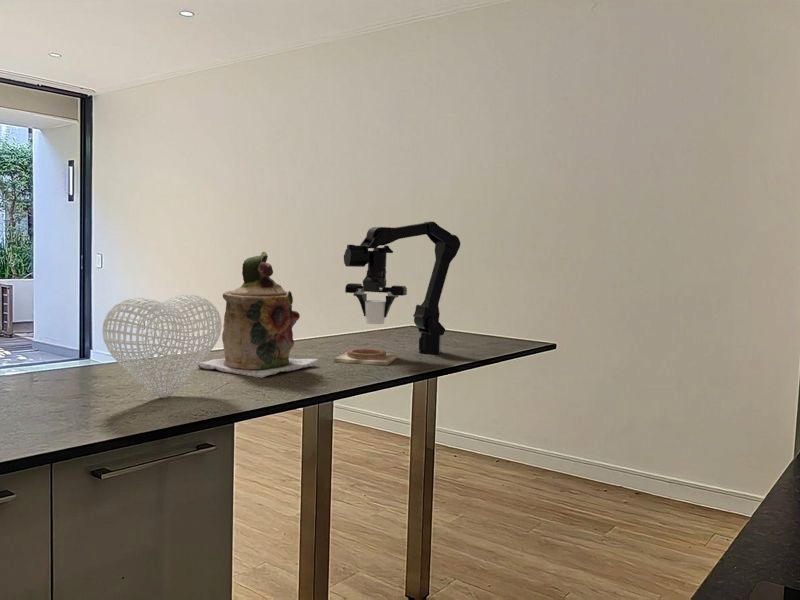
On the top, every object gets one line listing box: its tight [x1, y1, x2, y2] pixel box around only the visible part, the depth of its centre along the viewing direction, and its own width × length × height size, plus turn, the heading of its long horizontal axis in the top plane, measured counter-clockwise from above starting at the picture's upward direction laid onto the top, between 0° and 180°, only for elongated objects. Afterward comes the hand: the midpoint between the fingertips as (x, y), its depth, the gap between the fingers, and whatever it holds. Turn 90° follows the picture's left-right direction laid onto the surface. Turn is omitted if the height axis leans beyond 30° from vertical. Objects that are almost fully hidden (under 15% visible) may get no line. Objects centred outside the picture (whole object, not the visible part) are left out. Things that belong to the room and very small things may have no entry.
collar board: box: [333, 348, 398, 366], centre depth 216 cm, size 16×15×2 cm
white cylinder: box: [365, 299, 386, 325], centre depth 225 cm, size 7×7×7 cm
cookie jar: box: [197, 251, 319, 379], centre depth 196 cm, size 25×25×32 cm
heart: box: [102, 294, 222, 399], centre depth 155 cm, size 28×16×22 cm, turn 153°
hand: (375, 316), depth 225 cm, fingers closed on white cylinder, 6 cm apart
